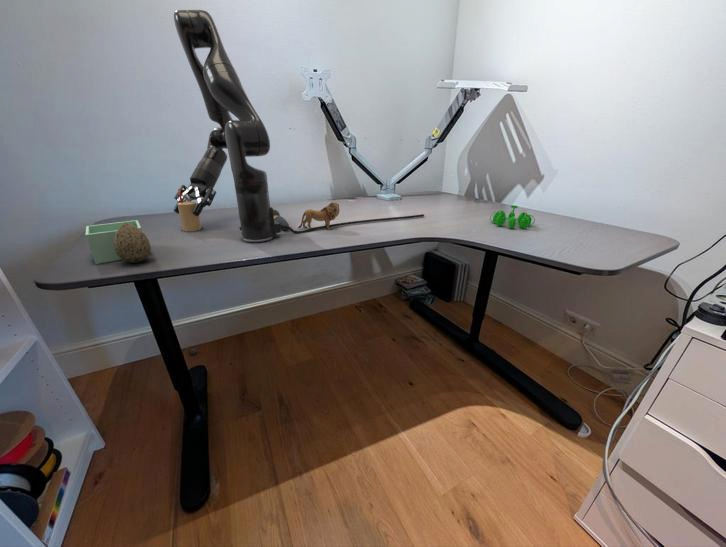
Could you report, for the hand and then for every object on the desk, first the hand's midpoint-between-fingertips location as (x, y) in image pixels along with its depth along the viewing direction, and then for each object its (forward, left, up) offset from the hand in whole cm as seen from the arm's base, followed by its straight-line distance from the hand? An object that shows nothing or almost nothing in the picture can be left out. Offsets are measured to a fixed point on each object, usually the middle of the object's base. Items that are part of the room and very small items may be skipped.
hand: (185, 213), depth 104 cm
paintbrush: (-27, +12, -6) cm, 30 cm away
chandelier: (-96, +62, -6) cm, 115 cm away
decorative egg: (+17, +25, -6) cm, 31 cm away
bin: (+19, +15, -6) cm, 25 cm away
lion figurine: (-37, +24, -6) cm, 45 cm away
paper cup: (-1, -1, -6) cm, 6 cm away
